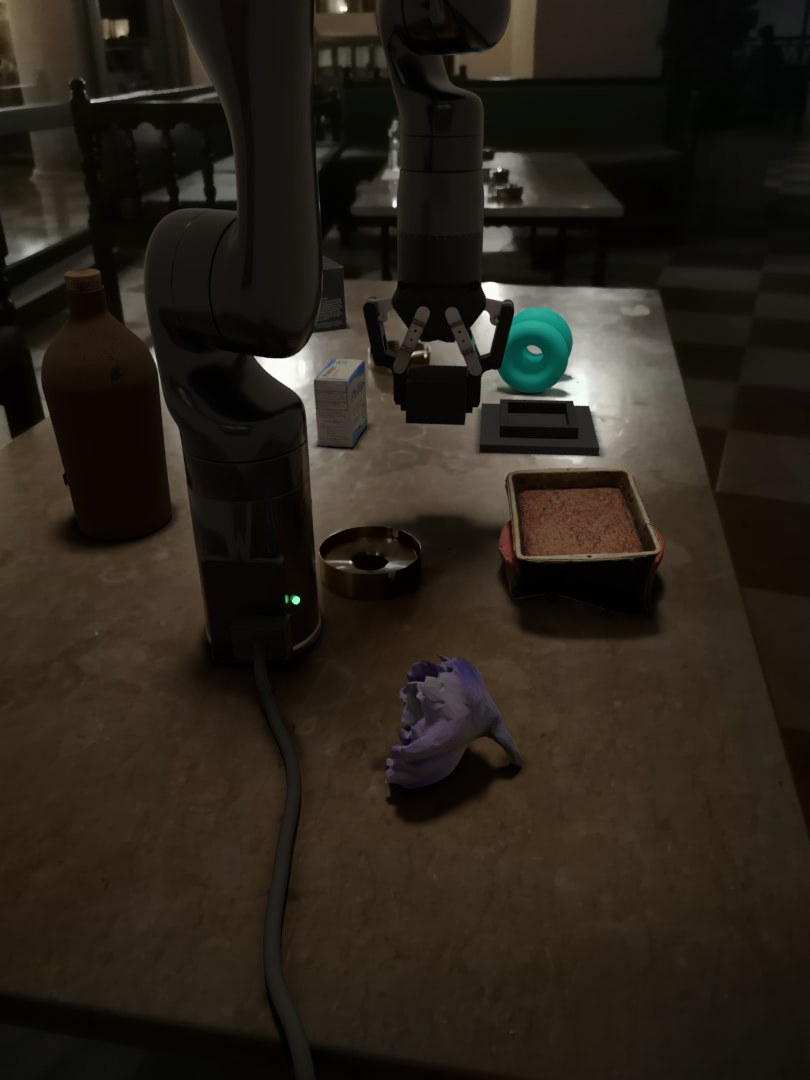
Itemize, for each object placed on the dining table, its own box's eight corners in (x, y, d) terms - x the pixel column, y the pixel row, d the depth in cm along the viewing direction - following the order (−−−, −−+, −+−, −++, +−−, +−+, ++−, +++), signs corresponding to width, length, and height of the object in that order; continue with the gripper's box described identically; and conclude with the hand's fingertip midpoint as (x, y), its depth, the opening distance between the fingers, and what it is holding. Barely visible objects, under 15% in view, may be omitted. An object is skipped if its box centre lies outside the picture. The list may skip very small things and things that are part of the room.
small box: (292, 317, 161) (287, 257, 156) (326, 313, 164) (323, 253, 159) (312, 332, 153) (308, 269, 148) (348, 327, 155) (345, 265, 150)
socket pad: (598, 455, 107) (600, 435, 105) (479, 452, 108) (480, 432, 107) (588, 412, 119) (590, 394, 118) (481, 410, 120) (482, 392, 119)
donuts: (492, 393, 126) (494, 321, 121) (502, 370, 134) (505, 303, 129) (564, 398, 124) (570, 326, 119) (570, 375, 132) (576, 306, 127)
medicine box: (352, 449, 109) (349, 379, 105) (317, 446, 110) (312, 377, 106) (368, 425, 116) (366, 359, 112) (334, 422, 116) (331, 357, 112)
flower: (545, 646, 62) (417, 612, 58) (562, 766, 57) (424, 737, 53) (473, 703, 68) (353, 676, 64) (483, 815, 63) (353, 793, 59)
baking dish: (488, 637, 78) (501, 546, 71) (498, 515, 92) (510, 430, 85) (658, 659, 77) (686, 568, 70) (642, 532, 91) (665, 447, 84)
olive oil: (199, 507, 96) (166, 264, 84) (133, 552, 87) (87, 290, 75) (119, 489, 99) (77, 256, 87) (48, 531, 91) (-8, 279, 79)
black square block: (464, 425, 84) (466, 384, 82) (405, 423, 84) (405, 382, 83) (466, 405, 89) (468, 365, 87) (410, 403, 89) (411, 364, 87)
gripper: (351, 230, 76) (357, 421, 84) (524, 232, 75) (513, 426, 83) (363, 216, 82) (367, 394, 90) (522, 218, 81) (512, 399, 89)
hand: (437, 408), depth 86 cm, fingers closed on black square block, 5 cm apart
